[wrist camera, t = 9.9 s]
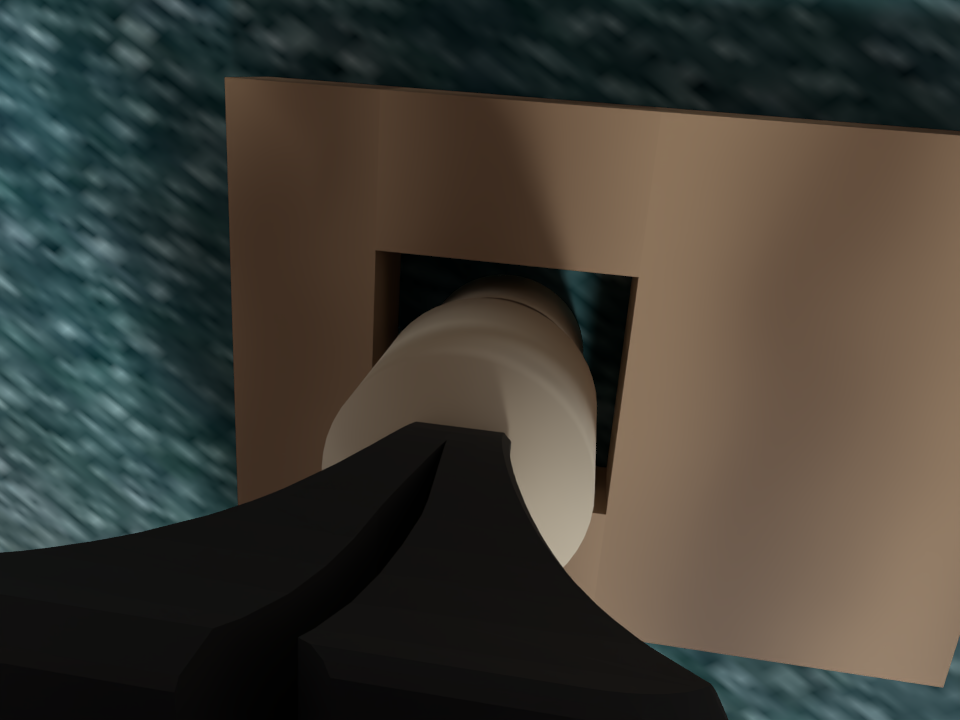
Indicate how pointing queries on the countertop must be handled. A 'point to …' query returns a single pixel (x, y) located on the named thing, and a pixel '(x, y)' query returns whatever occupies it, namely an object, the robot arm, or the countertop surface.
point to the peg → (493, 394)
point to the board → (649, 339)
